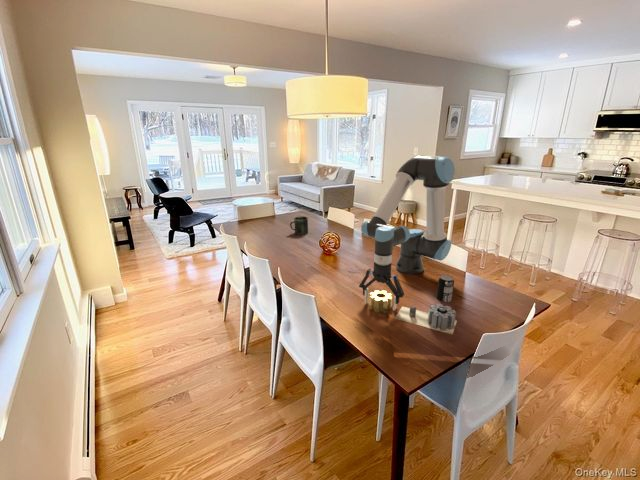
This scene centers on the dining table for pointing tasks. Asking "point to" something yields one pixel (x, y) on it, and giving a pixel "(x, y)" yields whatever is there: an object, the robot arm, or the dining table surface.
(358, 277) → the dining table surface
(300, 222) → the mug
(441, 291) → the beverage can
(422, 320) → the gear board
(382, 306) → the brass gear
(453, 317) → the gear
